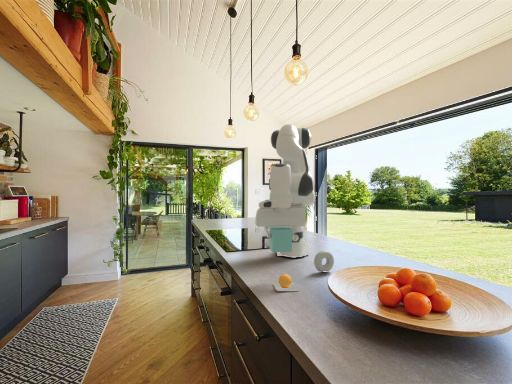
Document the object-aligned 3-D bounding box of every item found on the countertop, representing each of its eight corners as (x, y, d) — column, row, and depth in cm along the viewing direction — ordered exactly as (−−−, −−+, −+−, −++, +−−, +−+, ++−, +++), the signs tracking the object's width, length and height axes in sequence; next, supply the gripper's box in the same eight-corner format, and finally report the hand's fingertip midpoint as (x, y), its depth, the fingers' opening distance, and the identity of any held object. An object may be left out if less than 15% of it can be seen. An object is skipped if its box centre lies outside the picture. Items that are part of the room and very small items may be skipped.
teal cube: (269, 247, 108) (269, 226, 108) (287, 246, 109) (287, 226, 108) (272, 252, 100) (272, 229, 100) (291, 251, 101) (292, 229, 101)
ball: (280, 280, 94) (279, 291, 95) (293, 279, 94) (292, 290, 96) (277, 271, 98) (276, 282, 100) (290, 271, 99) (289, 282, 101)
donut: (330, 270, 120) (330, 248, 120) (335, 272, 117) (335, 250, 117) (312, 272, 116) (312, 250, 116) (316, 274, 113) (316, 252, 113)
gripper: (303, 203, 108) (303, 236, 108) (254, 203, 106) (254, 236, 106) (308, 203, 102) (308, 238, 102) (256, 203, 100) (256, 239, 99)
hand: (280, 237), depth 104 cm, fingers closed on teal cube, 8 cm apart
